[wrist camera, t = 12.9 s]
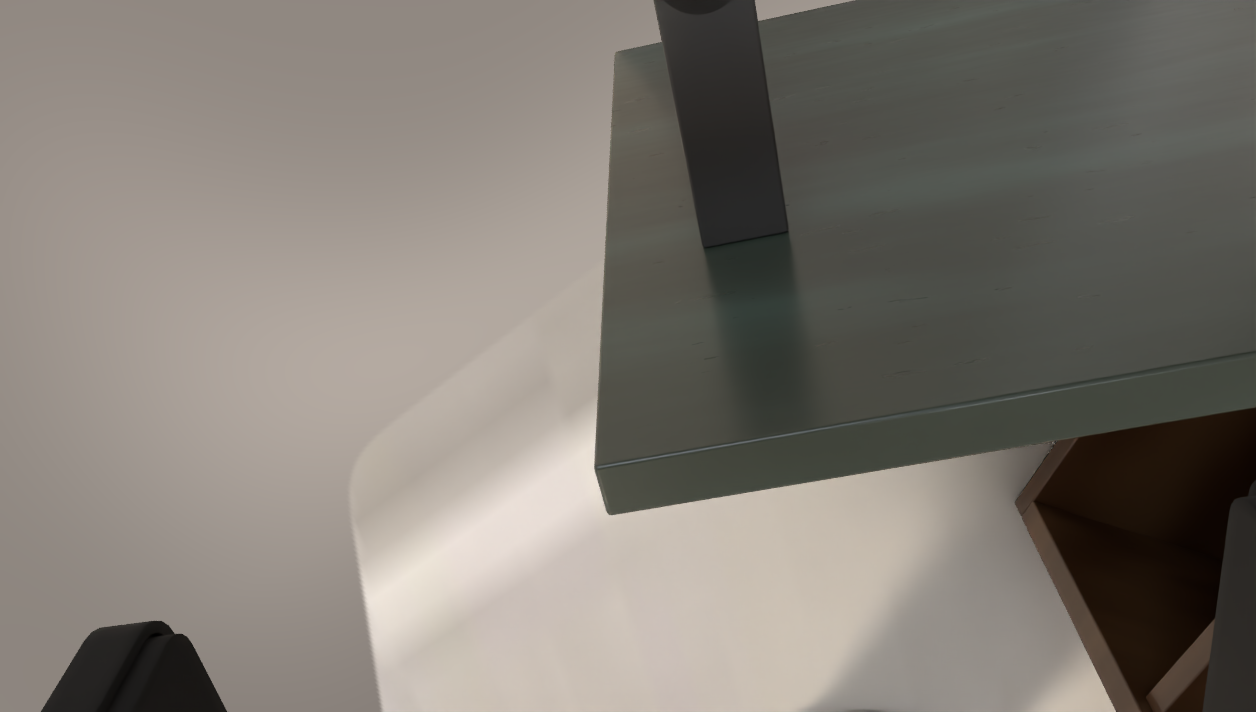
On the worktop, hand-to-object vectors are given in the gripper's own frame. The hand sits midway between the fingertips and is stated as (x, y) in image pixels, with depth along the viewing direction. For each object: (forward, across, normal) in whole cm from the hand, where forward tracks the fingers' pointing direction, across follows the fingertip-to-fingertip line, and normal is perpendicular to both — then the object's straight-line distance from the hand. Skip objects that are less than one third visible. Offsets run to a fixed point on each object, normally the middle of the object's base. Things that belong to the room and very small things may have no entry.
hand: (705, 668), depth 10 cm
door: (+30, -11, -2) cm, 32 cm away
